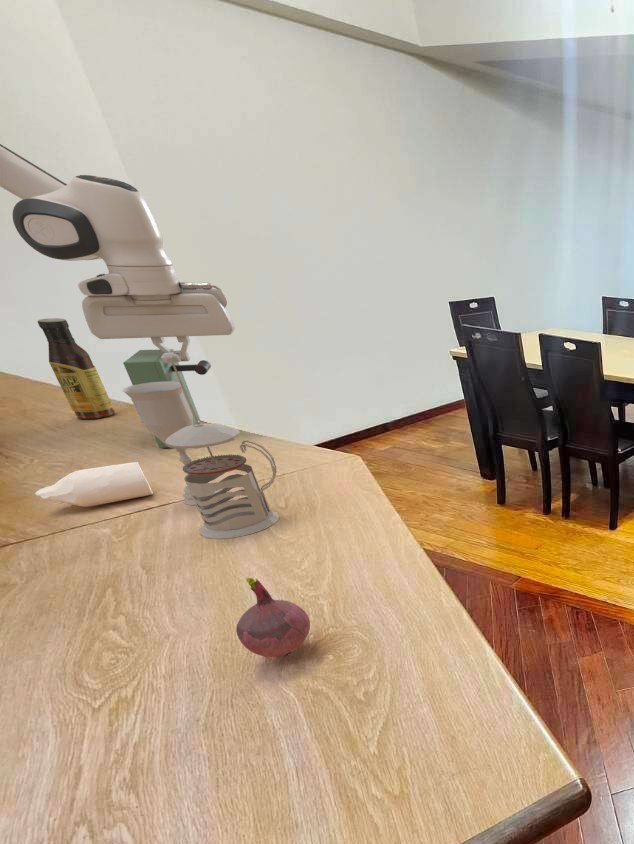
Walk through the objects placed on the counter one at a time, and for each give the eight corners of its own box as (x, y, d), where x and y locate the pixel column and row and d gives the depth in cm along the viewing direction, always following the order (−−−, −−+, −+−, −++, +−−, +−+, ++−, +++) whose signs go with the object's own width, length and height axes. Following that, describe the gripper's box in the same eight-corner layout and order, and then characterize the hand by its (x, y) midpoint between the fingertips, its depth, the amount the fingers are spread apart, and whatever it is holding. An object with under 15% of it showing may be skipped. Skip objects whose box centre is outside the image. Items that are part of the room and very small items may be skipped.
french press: (206, 515, 91) (131, 347, 78) (297, 503, 95) (239, 343, 83) (190, 543, 83) (104, 362, 71) (289, 529, 88) (224, 357, 76)
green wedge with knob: (122, 362, 105) (198, 360, 110) (139, 349, 114) (208, 348, 119) (159, 448, 113) (228, 442, 118) (172, 430, 122) (236, 425, 127)
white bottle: (47, 507, 91) (27, 473, 88) (150, 487, 98) (135, 456, 96) (47, 520, 87) (26, 485, 84) (155, 499, 95) (139, 466, 92)
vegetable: (308, 631, 67) (277, 556, 62) (329, 654, 64) (299, 577, 59) (244, 656, 63) (206, 578, 58) (263, 683, 60) (225, 602, 55)
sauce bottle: (69, 418, 126) (16, 320, 116) (102, 410, 131) (55, 316, 122) (92, 421, 125) (41, 322, 115) (125, 413, 130) (79, 318, 120)
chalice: (173, 496, 96) (120, 385, 87) (225, 486, 100) (180, 379, 91) (178, 511, 91) (124, 396, 82) (233, 500, 96) (186, 389, 87)
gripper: (222, 280, 114) (248, 354, 120) (76, 280, 104) (114, 360, 111) (217, 284, 109) (245, 361, 116) (64, 284, 99) (104, 368, 106)
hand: (179, 361), depth 113 cm, fingers closed
